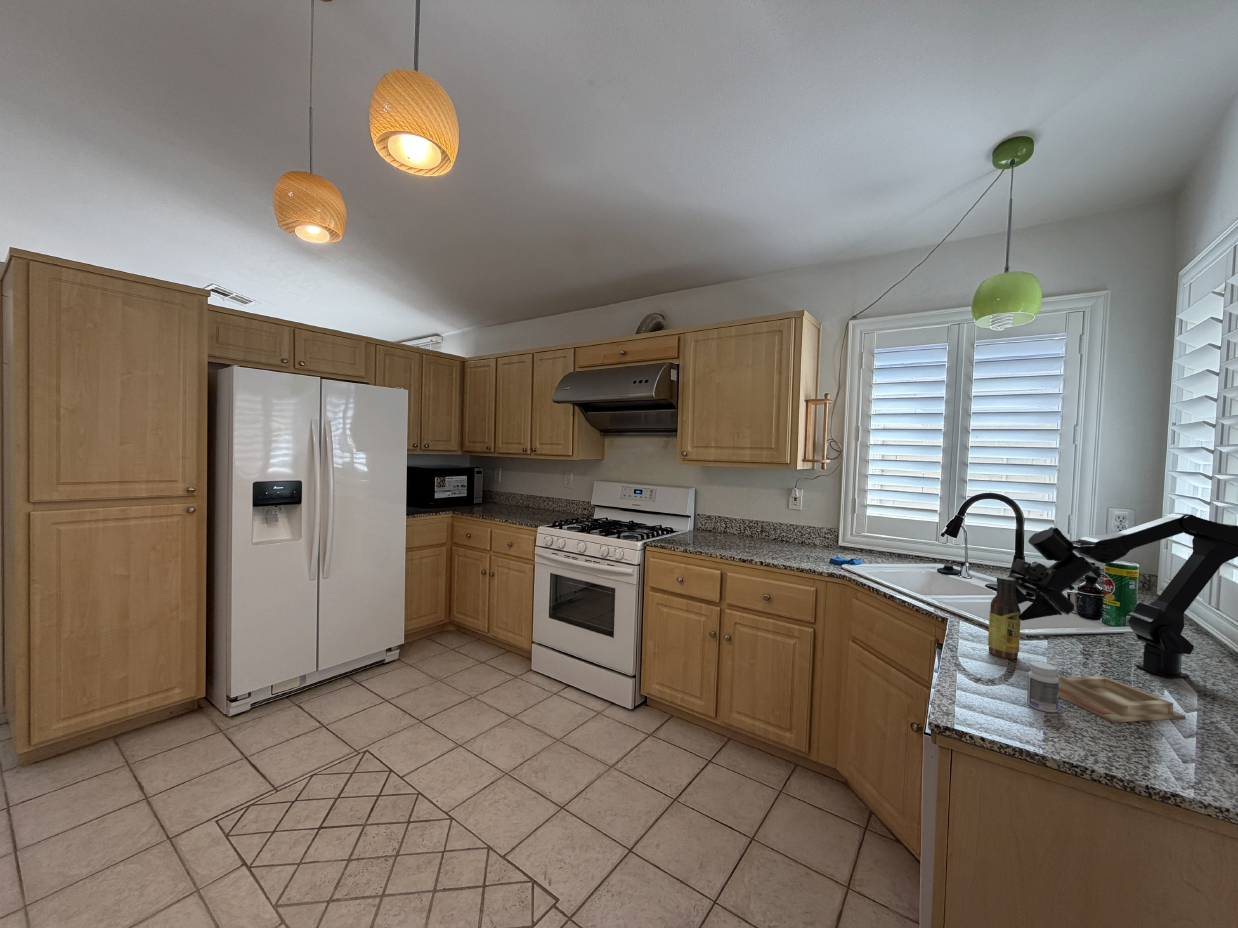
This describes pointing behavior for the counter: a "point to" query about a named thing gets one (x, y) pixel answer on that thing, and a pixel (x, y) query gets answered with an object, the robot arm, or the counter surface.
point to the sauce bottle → (1004, 620)
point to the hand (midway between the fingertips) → (1009, 613)
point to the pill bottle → (1043, 687)
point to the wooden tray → (1115, 699)
